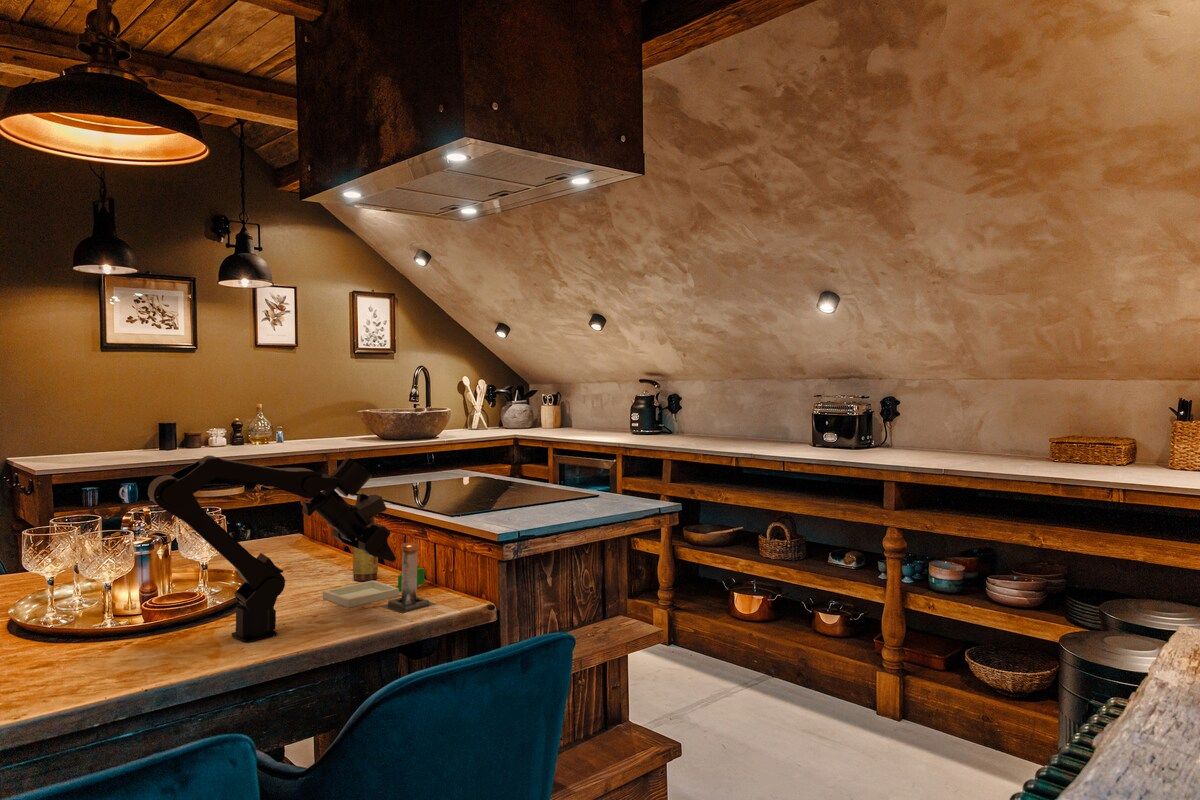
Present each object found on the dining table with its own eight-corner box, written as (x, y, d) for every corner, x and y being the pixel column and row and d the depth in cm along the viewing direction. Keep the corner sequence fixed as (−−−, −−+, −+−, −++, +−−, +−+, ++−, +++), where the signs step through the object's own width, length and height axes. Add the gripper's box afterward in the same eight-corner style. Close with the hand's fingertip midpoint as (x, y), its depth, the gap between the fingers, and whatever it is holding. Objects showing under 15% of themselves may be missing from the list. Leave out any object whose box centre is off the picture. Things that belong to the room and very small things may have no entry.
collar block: (401, 615, 166) (401, 609, 165) (379, 607, 171) (380, 601, 171) (437, 605, 173) (437, 599, 173) (415, 598, 178) (415, 593, 178)
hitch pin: (406, 608, 169) (408, 547, 169) (395, 605, 172) (396, 544, 171) (421, 605, 172) (423, 544, 172) (410, 601, 175) (411, 541, 175)
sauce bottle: (378, 581, 193) (380, 504, 193) (353, 582, 191) (354, 505, 190) (376, 574, 199) (378, 500, 199) (351, 576, 197) (353, 501, 196)
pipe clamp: (412, 595, 182) (412, 576, 182) (397, 594, 183) (398, 575, 183) (428, 582, 194) (428, 565, 193) (414, 581, 194) (414, 564, 194)
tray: (348, 609, 168) (348, 600, 168) (322, 600, 175) (322, 591, 175) (398, 597, 179) (398, 588, 179) (372, 589, 186) (373, 580, 186)
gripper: (382, 489, 157) (428, 535, 164) (346, 479, 171) (391, 522, 178) (344, 530, 152) (394, 576, 159) (311, 516, 166) (358, 559, 173)
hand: (385, 556), depth 168 cm, fingers open, 9 cm apart
